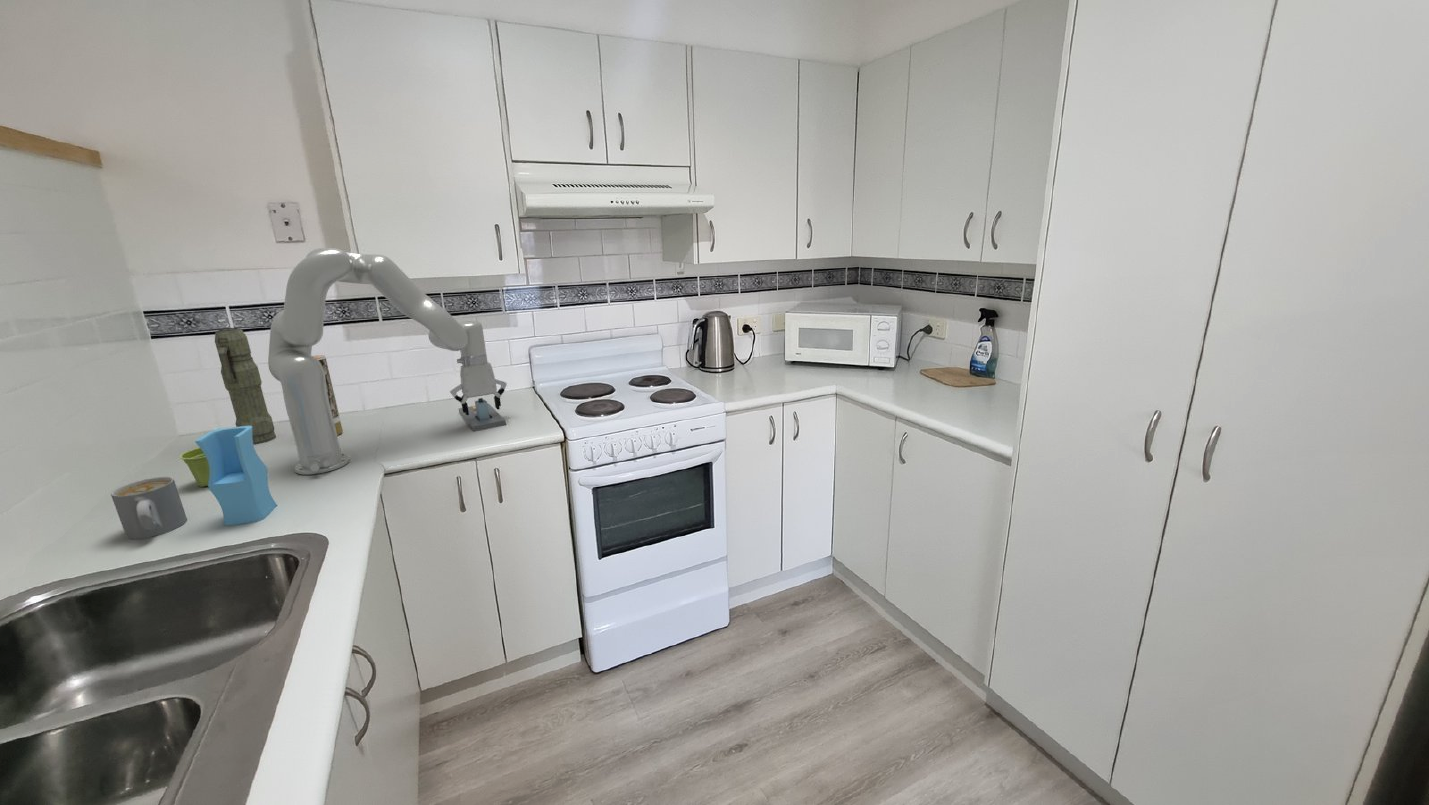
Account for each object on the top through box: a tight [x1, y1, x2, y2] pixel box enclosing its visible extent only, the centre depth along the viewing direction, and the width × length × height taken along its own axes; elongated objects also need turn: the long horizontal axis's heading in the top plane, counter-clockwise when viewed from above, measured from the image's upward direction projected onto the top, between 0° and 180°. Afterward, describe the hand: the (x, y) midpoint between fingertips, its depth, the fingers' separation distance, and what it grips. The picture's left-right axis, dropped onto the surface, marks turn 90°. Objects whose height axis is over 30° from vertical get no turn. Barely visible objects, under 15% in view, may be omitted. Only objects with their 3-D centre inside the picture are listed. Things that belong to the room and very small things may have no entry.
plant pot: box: [179, 447, 209, 488], centre depth 150 cm, size 9×9×9 cm
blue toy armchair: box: [194, 426, 278, 527], centre depth 129 cm, size 8×8×20 cm
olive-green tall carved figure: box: [214, 327, 277, 445], centre depth 177 cm, size 9×12×35 cm
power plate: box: [458, 402, 507, 432], centre depth 195 cm, size 24×10×2 cm, turn 33°
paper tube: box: [312, 354, 343, 436], centre depth 181 cm, size 7×7×25 cm
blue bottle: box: [474, 397, 490, 421], centre depth 191 cm, size 4×3×8 cm
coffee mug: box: [110, 476, 188, 540], centre depth 125 cm, size 13×10×10 cm
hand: (482, 411), depth 191 cm, fingers open, 9 cm apart
